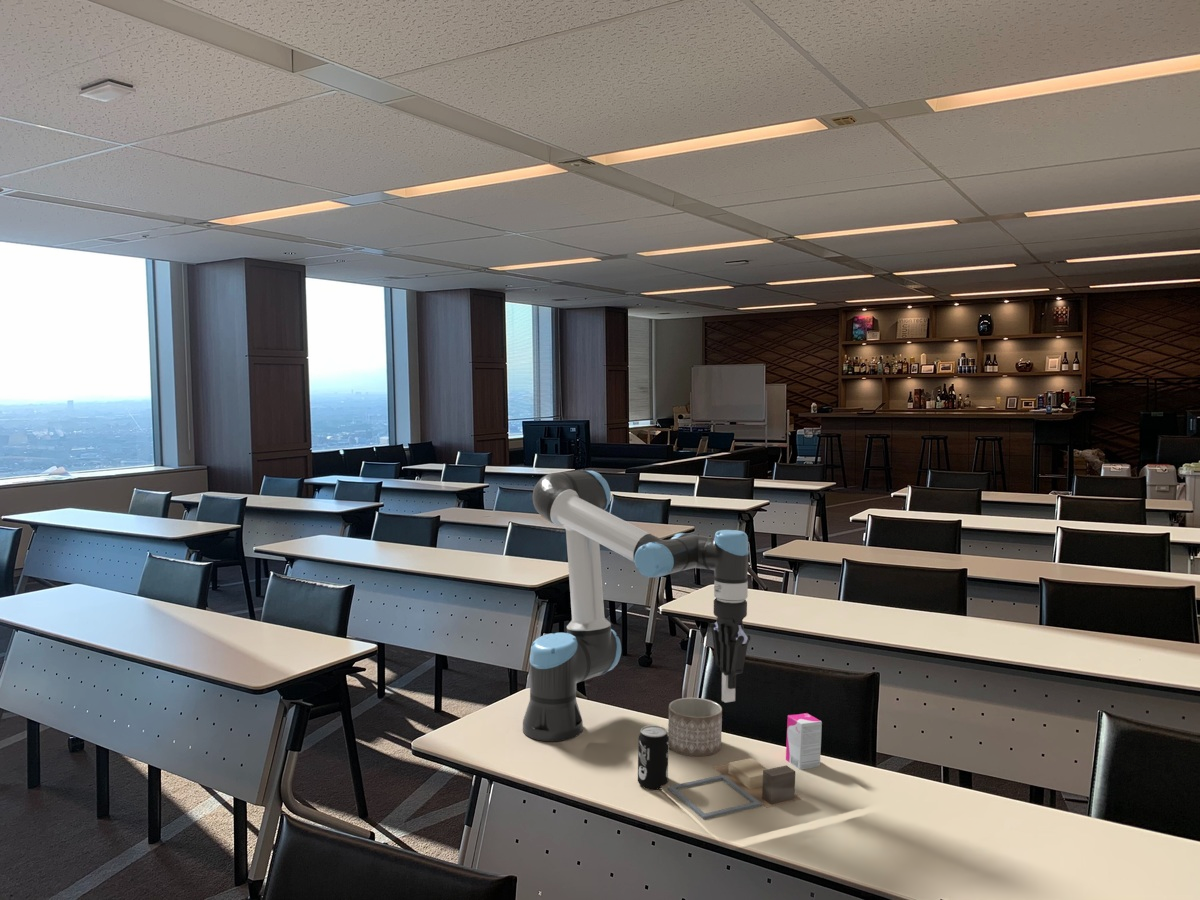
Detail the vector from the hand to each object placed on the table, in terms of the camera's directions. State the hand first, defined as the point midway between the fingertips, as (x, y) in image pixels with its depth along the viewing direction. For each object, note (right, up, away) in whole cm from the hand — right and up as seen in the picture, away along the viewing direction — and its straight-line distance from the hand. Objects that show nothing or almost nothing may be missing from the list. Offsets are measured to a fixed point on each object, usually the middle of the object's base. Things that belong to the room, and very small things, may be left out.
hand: (728, 700), depth 191 cm
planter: (-7, -15, +10) cm, 19 cm away
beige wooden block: (+4, -15, -8) cm, 17 cm away
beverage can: (-18, -16, -9) cm, 25 cm away
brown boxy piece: (+4, -16, -9) cm, 19 cm away
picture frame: (-6, -16, -16) cm, 24 cm away
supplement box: (+17, -16, +1) cm, 23 cm away
